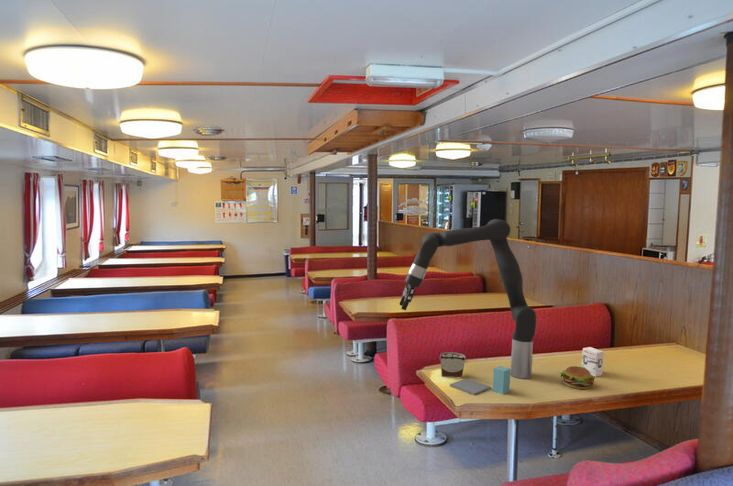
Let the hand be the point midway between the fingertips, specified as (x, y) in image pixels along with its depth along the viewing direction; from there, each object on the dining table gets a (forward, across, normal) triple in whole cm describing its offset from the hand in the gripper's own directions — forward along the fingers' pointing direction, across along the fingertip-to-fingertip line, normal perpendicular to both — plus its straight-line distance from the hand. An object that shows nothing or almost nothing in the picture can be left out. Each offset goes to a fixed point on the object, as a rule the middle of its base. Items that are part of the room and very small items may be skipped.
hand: (402, 307), depth 232 cm
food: (+2, -10, -85) cm, 85 cm away
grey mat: (+19, -15, -38) cm, 46 cm away
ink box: (-4, +4, -98) cm, 98 cm away
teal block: (+14, -19, -50) cm, 56 cm away
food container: (+21, 0, -34) cm, 40 cm away
